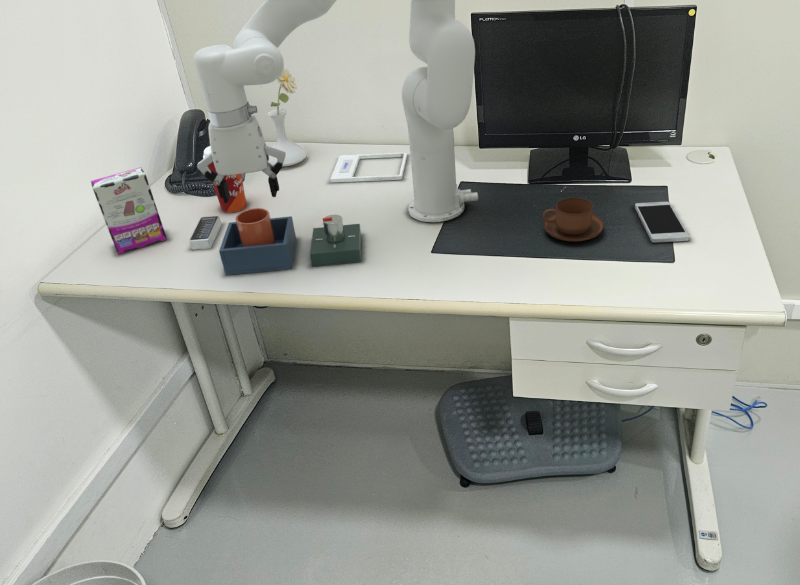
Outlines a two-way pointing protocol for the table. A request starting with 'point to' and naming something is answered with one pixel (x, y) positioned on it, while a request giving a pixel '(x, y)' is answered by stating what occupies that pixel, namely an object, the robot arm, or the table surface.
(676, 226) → the smartphone
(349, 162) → the photo frame
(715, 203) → the table surface
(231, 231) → the basin
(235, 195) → the coffee cup
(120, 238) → the candy bar box
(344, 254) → the green dial base
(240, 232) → the cup
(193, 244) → the multiport hub
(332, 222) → the rotary dial knob
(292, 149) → the flower in vase
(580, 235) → the cup and saucer
